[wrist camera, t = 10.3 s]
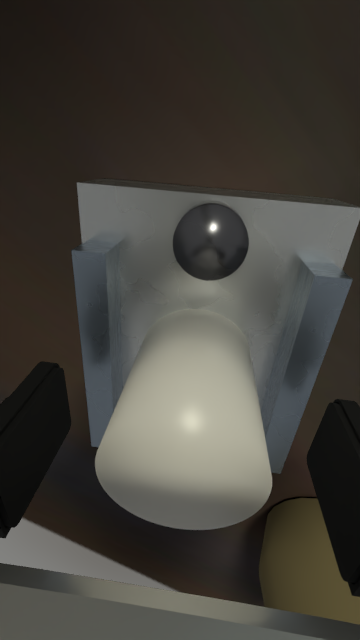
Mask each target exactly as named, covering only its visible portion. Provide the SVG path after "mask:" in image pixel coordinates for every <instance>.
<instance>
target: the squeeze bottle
mask: <svg viewBox="0 0 360 640" xmlns="http://www.w3.org/2000/svg"><path fill="white" fill-rule="evenodd" d="M259 579H260V584H261V590H262V595H263V601H264V606H265V607H267V608H272V609H278V610H284V611H289V612H295V613H301V614H306V615H312V616H318V617H323V618H328V619H333V620H338V621H344V622H349V623H354V624H359V625H360V597H357V596H352V594H351V591H350V588H349V585H348V582H346V581H344V580H343V579H342V577H341V575H340V572H339V569H338V565H337V562H336V559H335V555H334V552H333V548H332V545H331V542H330V538H329V535H328V532H327V528H326V525H325V522H324V518H323V515H322V512H321V508H320V505H319V502H318V499H317V498H298V499H292V500H287V501H284V502H282V503H280V504H278V505H276V506H275V507H273V509H272V510H271V511H270V512H269V514H268V516H267V522H266V527H265V533H264V539H263V545H262V550H261V556H260V562H259Z"/></svg>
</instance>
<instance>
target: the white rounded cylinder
mask: <svg viewBox="0 0 360 640" xmlns="http://www.w3.org/2000/svg"><path fill="white" fill-rule="evenodd" d="M95 470H96V475H97V477H98V480H99V482H100V484H101V486H102V487H103V489H104V490H105V491H106V493H107V494H108V495H109V496H110V497H111V498H112V499H113V500H114V501H115V502H116V503H117V504H119V505H120V506H121V507H123V508H124V509H126V510H127V511H129V512H130V513H132V514H134V515H136V516H138V517H140V518H142V519H144V520H147V521H150V522H152V523H155V524H159V525H162V526H166V527H171V528H177V529H185V530H209V529H217V528H223V527H227V526H230V525H234V524H236V523H239V522H241V521H243V520H245V519H247V518H249V517H251V516H252V515H254V514H255V513H256V512H257V511H258V510H260V509H261V508H262V507H263V505H264V504H265V503H266V501H267V499H268V497H269V495H270V493H271V489H272V475H271V469H270V463H269V457H268V452H267V446H266V440H265V434H264V428H263V423H262V417H261V411H260V405H259V399H258V394H257V388H256V382H255V376H254V370H253V365H252V359H251V353H250V347H249V344H248V341H247V339H246V337H245V335H244V334H243V332H242V331H241V330H240V329H239V328H238V327H237V325H236V324H234V323H233V322H232V321H231V320H229V319H228V318H226V317H224V316H222V315H220V314H218V313H215V312H212V311H208V310H203V309H184V310H178V311H175V312H172V313H169V314H167V315H165V316H163V317H162V318H160V319H159V320H158V321H156V322H155V323H154V324H153V325H152V326H151V327H150V329H149V330H148V332H147V333H146V335H145V338H144V340H143V342H142V345H141V347H140V349H139V352H138V354H137V357H136V359H135V361H134V364H133V366H132V369H131V371H130V373H129V376H128V378H127V381H126V383H125V385H124V388H123V390H122V393H121V395H120V398H119V400H118V402H117V405H116V407H115V410H114V412H113V414H112V417H111V419H110V422H109V424H108V426H107V429H106V431H105V434H104V436H103V438H102V441H101V443H100V446H99V448H98V450H97V453H96V458H95Z"/></svg>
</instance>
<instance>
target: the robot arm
mask: <svg viewBox="0 0 360 640" xmlns="http://www.w3.org/2000/svg"><path fill="white" fill-rule="evenodd" d="M70 426H71V417H70V410H69V403H68V397H67V390H66V383H65V376H64V370H63V369H62V368H60V367H59V365H58V364H57V363H50V362H40V363H38V365H37V366H36V367H35V368H34V369H33V370H32V371H31V373H30V374H29V375H28V376H27V377H26V378H25V379H24V381H23V382H22V383H21V384H20V385H19V386H18V387H17V389H16V390H15V391H14V392H13V393H12V394H11V395H10V396H9V397H7V398H6V399H5V400H4V401H3V402H2V403H1V405H0V538H6V536H7V534H8V532H9V531H10V529H11V527H16V526H17V525H18V523H19V522H20V520H21V518H22V516H23V515H24V513H25V511H26V509H27V507H28V505H29V503H30V502H31V500H32V498H33V496H34V494H35V492H36V491H37V489H38V487H39V485H40V483H41V481H42V480H43V478H44V476H45V474H46V472H47V470H48V469H49V467H50V465H51V463H52V461H53V459H54V457H55V456H56V454H57V452H58V450H59V448H60V446H61V445H62V443H63V441H64V439H65V437H66V435H67V434H68V432H69V429H70ZM307 464H308V468H309V471H310V475H311V478H312V482H313V485H314V488H315V492H316V495H317V498H318V502H319V505H320V508H321V512H322V515H323V518H324V522H325V525H326V528H327V532H328V535H329V538H330V542H331V545H332V548H333V552H334V555H335V559H336V562H337V565H338V569H339V572H340V575H341V577H342V579H343V580H344V581H346V582H348V585H349V588H350V591H351V594H352V596H357V597H360V407H359V405H358V404H357V403H356V402H355V401H348V400H340V399H336V400H335V401H334V402H333V403H329V405H328V407H327V409H326V411H325V414H324V416H323V418H322V421H321V423H320V426H319V428H318V430H317V433H316V435H315V437H314V440H313V442H312V444H311V447H310V449H309V451H308V454H307ZM0 640H360V625H359V624H354V623H349V622H344V621H338V620H333V619H328V618H323V617H318V616H312V615H306V614H301V613H295V612H289V611H284V610H278V609H272V608H267V607H261V606H255V605H250V604H244V603H238V602H233V601H227V600H221V599H215V598H209V597H204V596H198V595H192V594H186V593H180V592H174V591H168V590H162V589H156V588H151V587H145V586H139V585H133V584H126V583H121V582H115V581H109V580H103V579H97V578H91V577H85V576H79V575H73V574H67V573H61V572H54V571H49V570H43V569H36V568H29V567H23V566H16V565H9V564H2V563H0Z"/></svg>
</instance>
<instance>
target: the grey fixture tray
mask: <svg viewBox="0 0 360 640" xmlns="http://www.w3.org/2000/svg"><path fill="white" fill-rule="evenodd" d="M77 191H78V203H79V215H80V227H81V238H82V244H81V245H79V246H77V247H76V248H74V249H72V250H71V251H72V261H73V270H74V280H75V290H76V300H77V309H78V319H79V329H80V339H81V348H82V358H83V368H84V378H85V387H86V397H87V407H88V417H89V426H90V436H91V446H92V447H99V446H100V443H101V441H102V438H103V436H104V434H105V431H106V429H107V426H108V424H109V422H110V419H111V417H112V414H113V412H114V410H115V407H116V405H117V402H118V400H119V398H120V395H121V393H122V390H123V388H124V385H125V383H126V381H127V378H128V376H129V373H130V371H131V369H132V366H133V364H134V361H135V359H136V357H137V354H138V352H139V349H140V347H141V345H142V342H143V340H144V338H145V335H146V333H147V332H148V330H149V329H150V327H151V326H152V325H153V324H154V323H155V322H156V321H158V320H159V319H160V318H162V317H163V316H165V315H167V314H169V313H172V312H175V311H178V310H184V309H203V310H208V311H212V312H215V313H218V314H220V315H222V316H224V317H226V318H228V319H229V320H231V321H232V322H233V323H234V324H236V325H237V327H238V328H239V329H240V330H241V331H242V332H243V334H244V335H245V337H246V339H247V341H248V344H249V347H250V353H251V359H252V365H253V370H254V376H255V382H256V388H257V394H258V399H259V405H260V411H261V417H262V423H263V428H264V434H265V440H266V446H267V452H268V457H269V463H270V469H271V473H278V474H281V471H282V469H283V466H284V463H285V461H286V458H287V455H288V452H289V450H290V447H291V444H292V442H293V439H294V436H295V434H296V431H297V428H298V426H299V423H300V420H301V417H302V415H303V412H304V409H305V407H306V404H307V401H308V399H309V396H310V393H311V390H312V388H313V385H314V382H315V380H316V377H317V374H318V372H319V369H320V366H321V364H322V361H323V358H324V355H325V353H326V350H327V347H328V345H329V342H330V339H331V337H332V334H333V331H334V329H335V326H336V323H337V320H338V318H339V315H340V312H341V310H342V307H343V304H344V302H345V299H346V296H347V293H348V291H349V288H350V285H351V283H352V280H353V279H352V278H351V277H349V276H348V275H347V274H346V273H345V272H344V271H343V270H342V269H343V266H344V263H345V260H346V257H347V254H348V251H349V249H350V246H351V243H352V240H353V237H354V234H355V231H356V228H357V225H358V223H359V220H360V207H358V206H355V205H352V204H349V203H345V202H342V201H339V200H336V199H332V198H321V197H310V196H298V195H287V194H276V193H264V192H253V191H242V190H230V189H219V188H208V187H196V186H185V185H174V184H162V183H151V182H140V181H128V180H117V179H106V178H104V179H97V180H90V181H84V182H77Z"/></svg>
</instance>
